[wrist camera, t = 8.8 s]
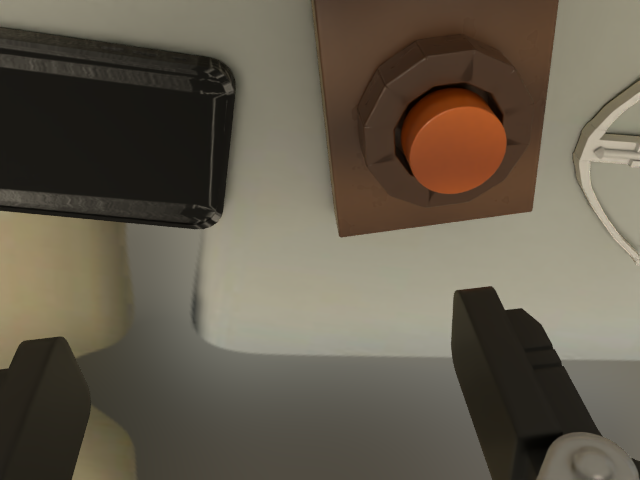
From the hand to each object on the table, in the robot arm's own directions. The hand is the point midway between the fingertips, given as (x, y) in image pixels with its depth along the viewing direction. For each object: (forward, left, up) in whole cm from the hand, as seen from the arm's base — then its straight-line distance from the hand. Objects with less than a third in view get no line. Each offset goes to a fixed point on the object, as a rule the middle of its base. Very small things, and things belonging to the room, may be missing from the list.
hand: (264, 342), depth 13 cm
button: (+2, +7, -12) cm, 14 cm away
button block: (+2, +7, -16) cm, 17 cm away
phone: (+1, -9, -16) cm, 18 cm away
